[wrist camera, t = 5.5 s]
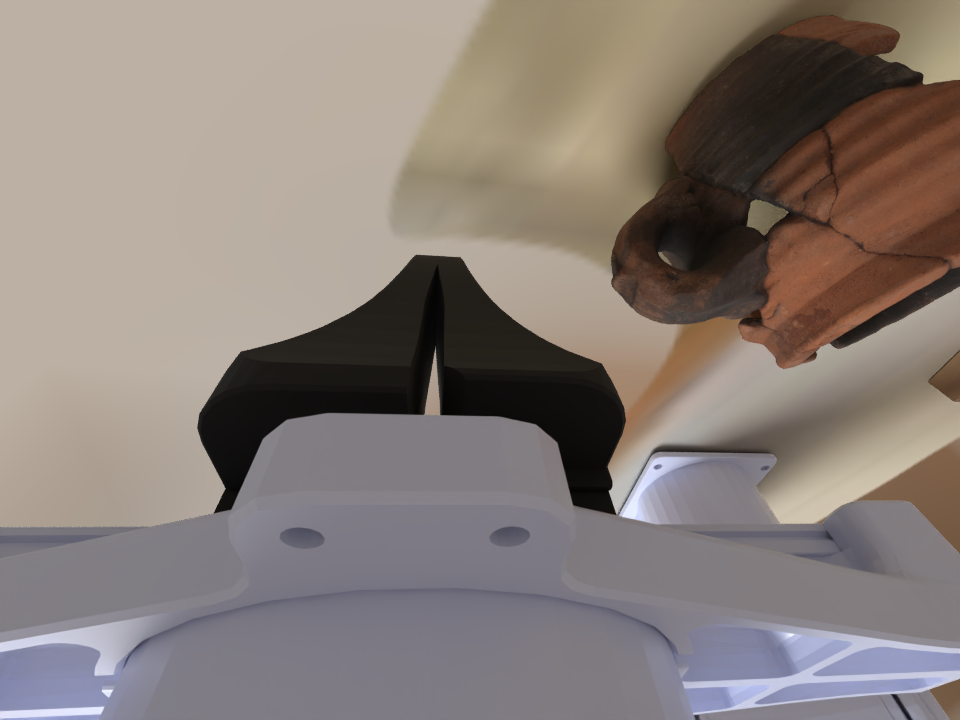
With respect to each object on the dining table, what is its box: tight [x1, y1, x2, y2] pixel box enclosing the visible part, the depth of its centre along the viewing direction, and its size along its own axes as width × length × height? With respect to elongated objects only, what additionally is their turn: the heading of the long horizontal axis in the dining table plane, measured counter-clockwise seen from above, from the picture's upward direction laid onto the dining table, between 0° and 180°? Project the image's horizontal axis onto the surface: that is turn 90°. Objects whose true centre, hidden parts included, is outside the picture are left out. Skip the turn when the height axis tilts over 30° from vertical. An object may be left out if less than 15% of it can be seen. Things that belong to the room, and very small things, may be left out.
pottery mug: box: [611, 15, 960, 369], centre depth 14 cm, size 12×10×8 cm
